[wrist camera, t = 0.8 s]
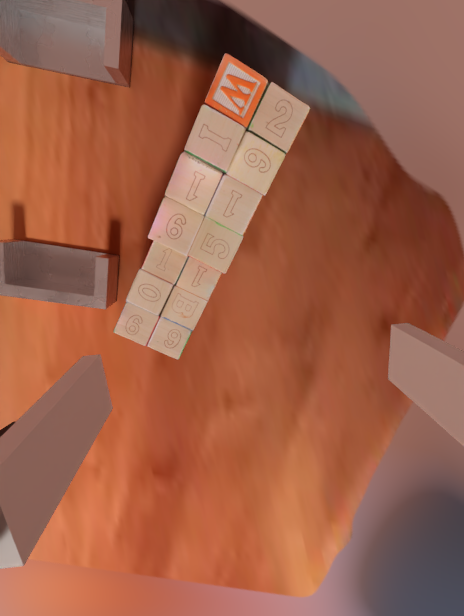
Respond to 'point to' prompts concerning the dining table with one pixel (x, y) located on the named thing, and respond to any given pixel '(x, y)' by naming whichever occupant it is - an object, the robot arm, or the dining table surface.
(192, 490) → the dining table surface
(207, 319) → the dining table surface
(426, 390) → the robot arm
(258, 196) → the stack of blocks
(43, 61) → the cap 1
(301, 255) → the dining table surface
